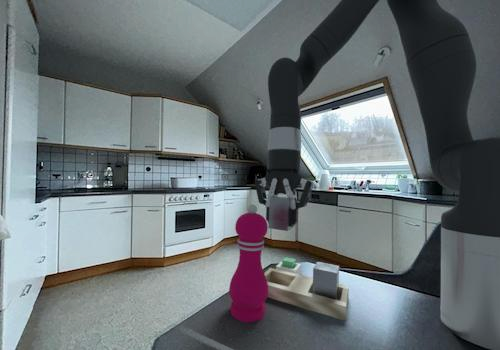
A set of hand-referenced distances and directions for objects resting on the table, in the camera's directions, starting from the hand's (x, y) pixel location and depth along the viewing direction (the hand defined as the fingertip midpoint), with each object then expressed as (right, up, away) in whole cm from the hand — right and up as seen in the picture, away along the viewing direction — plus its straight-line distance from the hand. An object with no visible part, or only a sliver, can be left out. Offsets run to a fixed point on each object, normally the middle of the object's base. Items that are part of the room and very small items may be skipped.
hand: (281, 224), depth 49 cm
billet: (+8, -14, -5) cm, 17 cm away
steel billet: (0, -1, 0) cm, 1 cm away
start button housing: (+3, -15, +8) cm, 17 cm away
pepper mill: (-8, -14, -10) cm, 19 cm away
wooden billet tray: (+4, -15, -3) cm, 16 cm away
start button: (+3, -14, +8) cm, 16 cm away
